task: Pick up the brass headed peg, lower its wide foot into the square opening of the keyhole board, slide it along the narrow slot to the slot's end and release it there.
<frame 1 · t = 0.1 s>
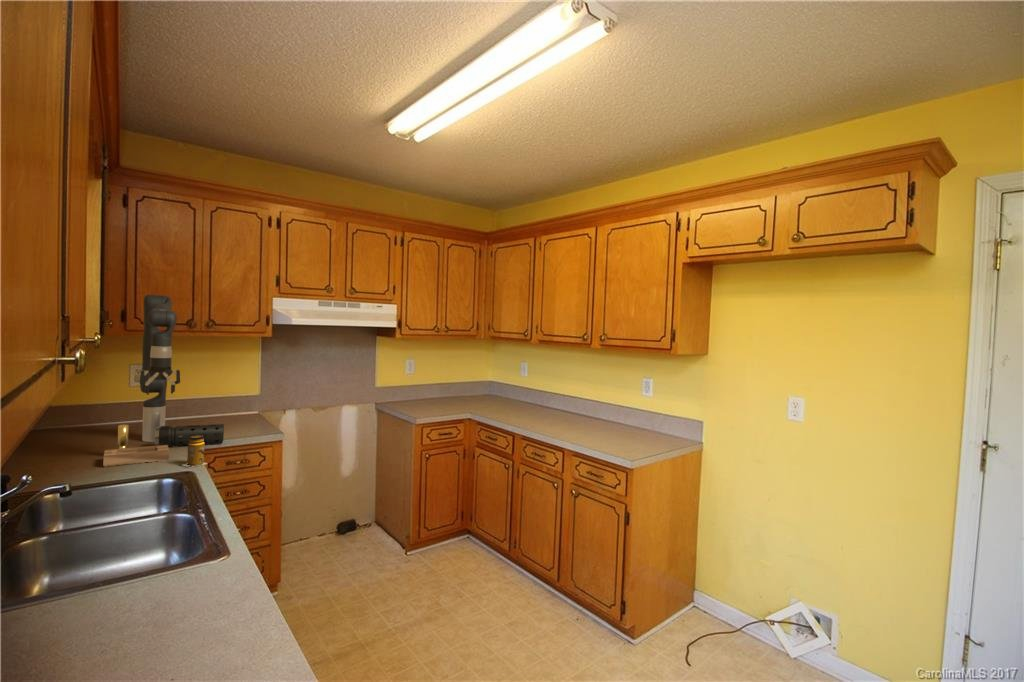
hand: (159, 393, 212), 29 cm above the worktop, tool pointing down, fingers open, 8 cm apart
keyhole board: (136, 460, 212), on the worktop
brass peg: (122, 456, 216), on the worktop
muzzle brake: (190, 446, 241), on the worktop
condiment: (193, 465, 210), on the worktop
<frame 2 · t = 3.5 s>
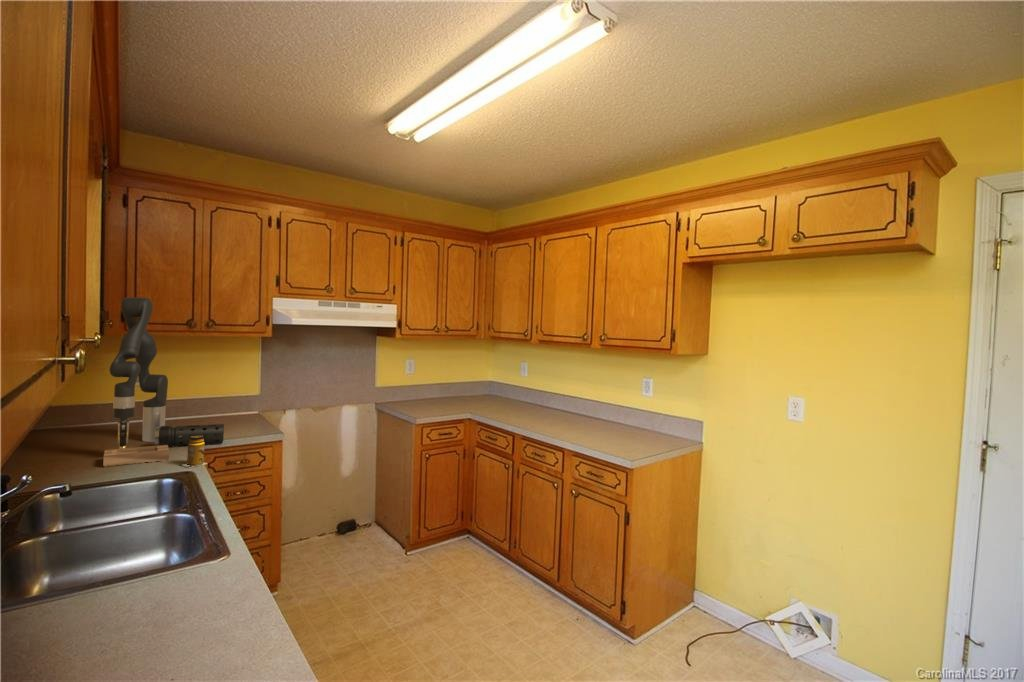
hand: (122, 445, 216), 5 cm above the worktop, tool pointing down, fingers closed on brass peg, 3 cm apart
brass peg: (122, 456, 216), on the worktop, touching gripper
everything else where it was.
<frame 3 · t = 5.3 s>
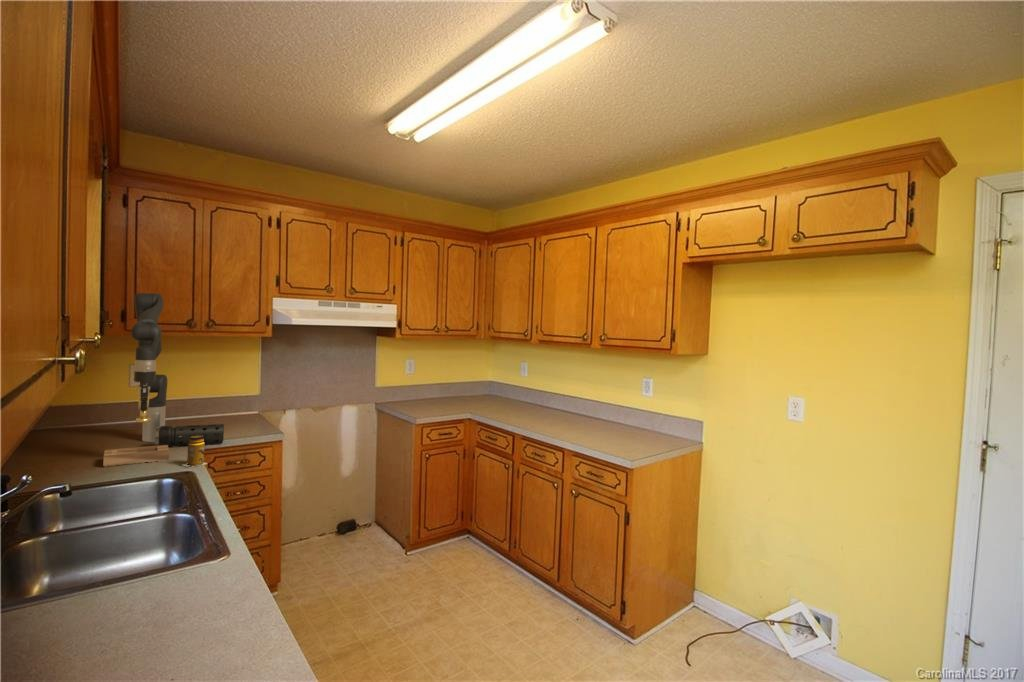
hand: (143, 409, 213), 22 cm above the worktop, tool pointing down, fingers closed on brass peg, 3 cm apart
brass peg: (143, 421, 213), point 17 cm above the worktop, touching gripper
everything else where it was.
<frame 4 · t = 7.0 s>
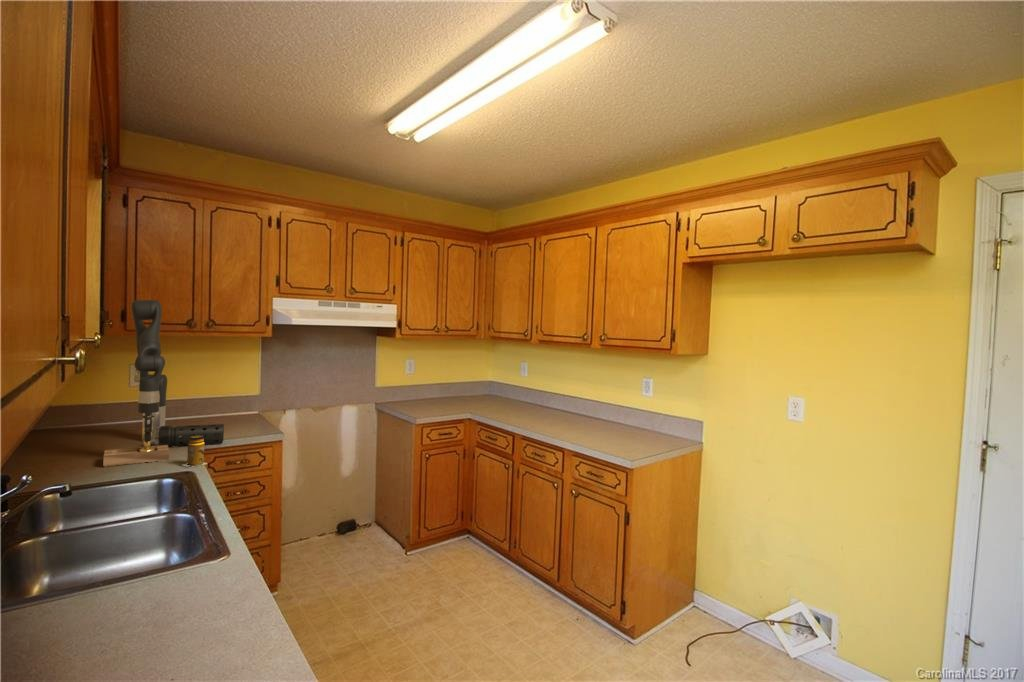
hand: (147, 440, 213), 9 cm above the worktop, tool pointing down, fingers closed on brass peg, 3 cm apart
brass peg: (146, 452, 214), point 3 cm above the worktop, touching gripper
everything else where it was.
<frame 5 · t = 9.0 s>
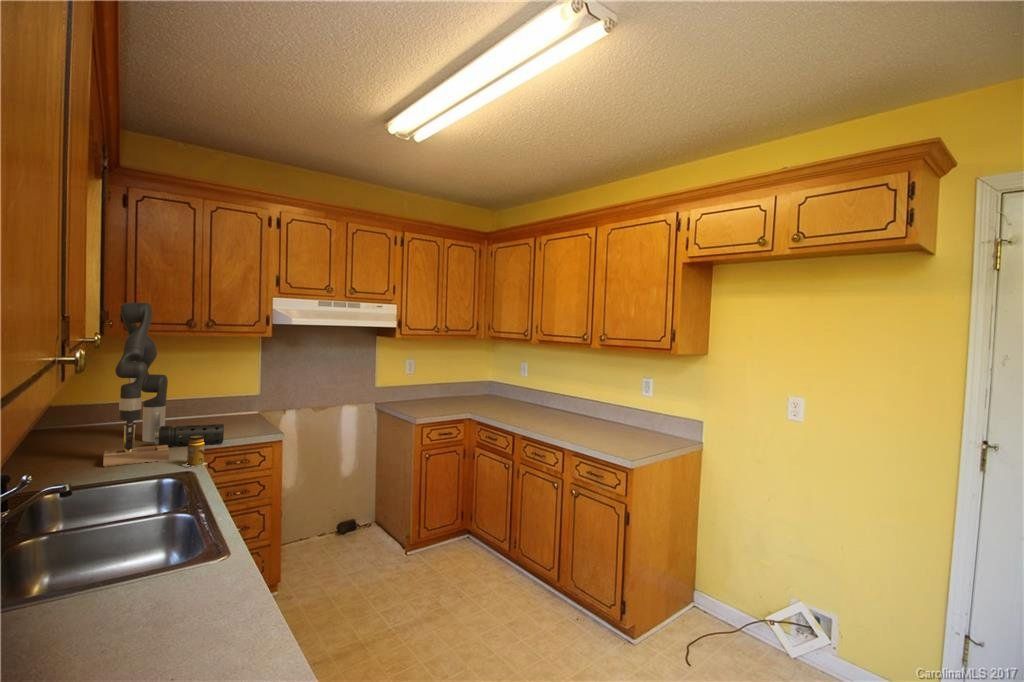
hand: (129, 448, 210), 6 cm above the worktop, tool pointing down, fingers closed on brass peg, 3 cm apart
brass peg: (128, 460, 210), point 1 cm above the worktop, touching gripper
everything else where it was.
when the fingers open (6 cm above the worktop, at t = 10.7 s): brass peg stays where it is, resting in keyhole board.
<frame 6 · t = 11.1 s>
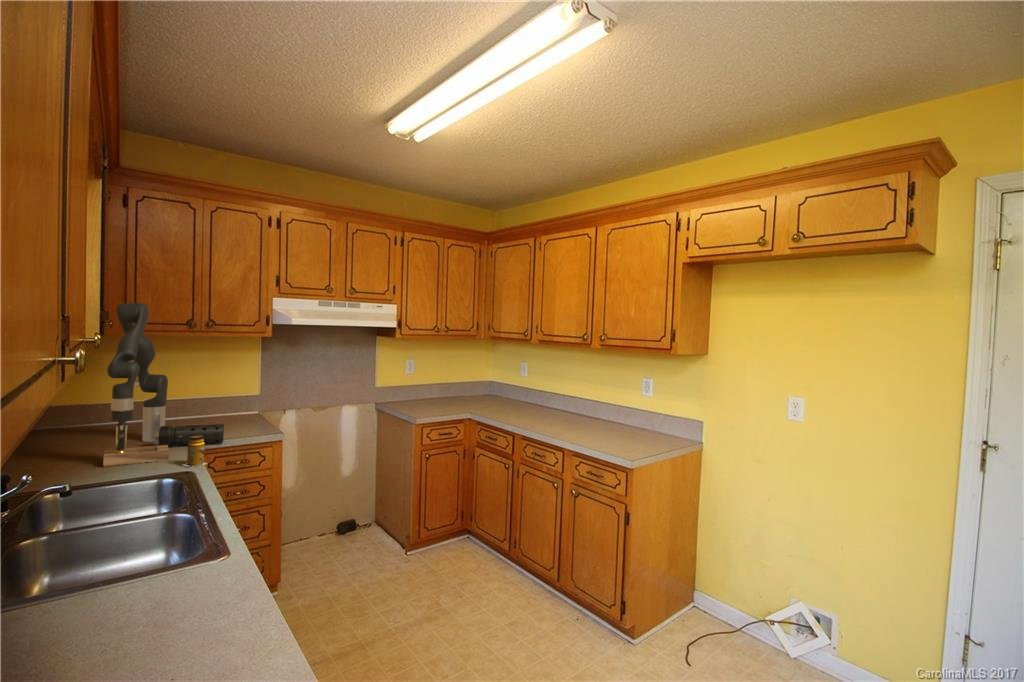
hand: (121, 446, 208), 7 cm above the worktop, tool pointing down, fingers open, 7 cm apart
brass peg: (120, 462, 208), resting in keyhole board
everything else where it was.
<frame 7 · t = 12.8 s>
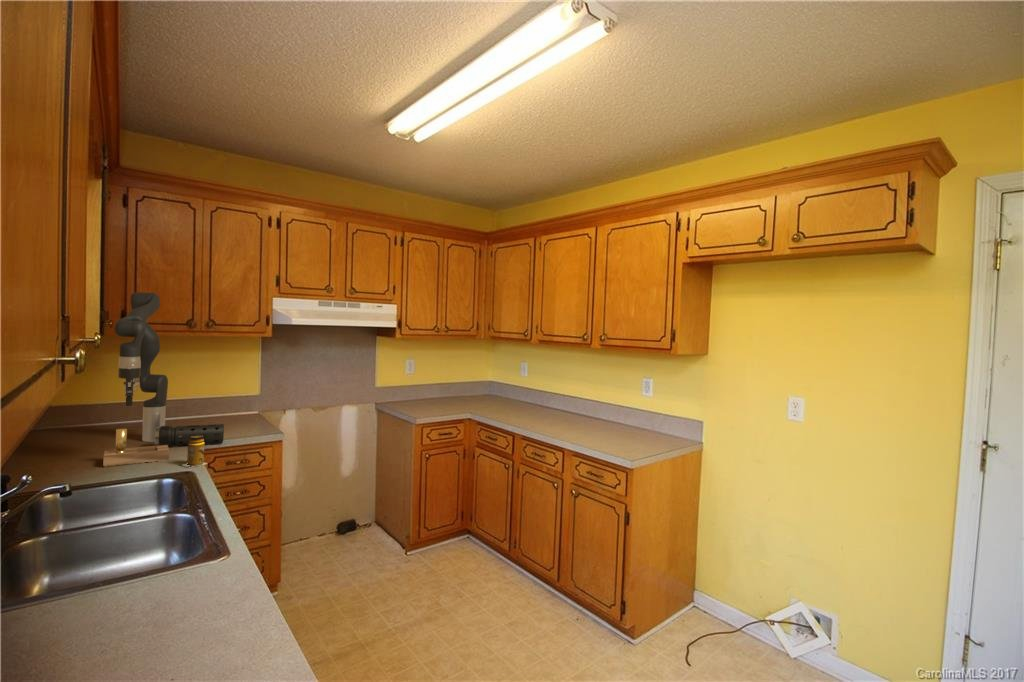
hand: (129, 404, 212), 24 cm above the worktop, tool pointing down, fingers open, 8 cm apart
nothing on the worktop moved.
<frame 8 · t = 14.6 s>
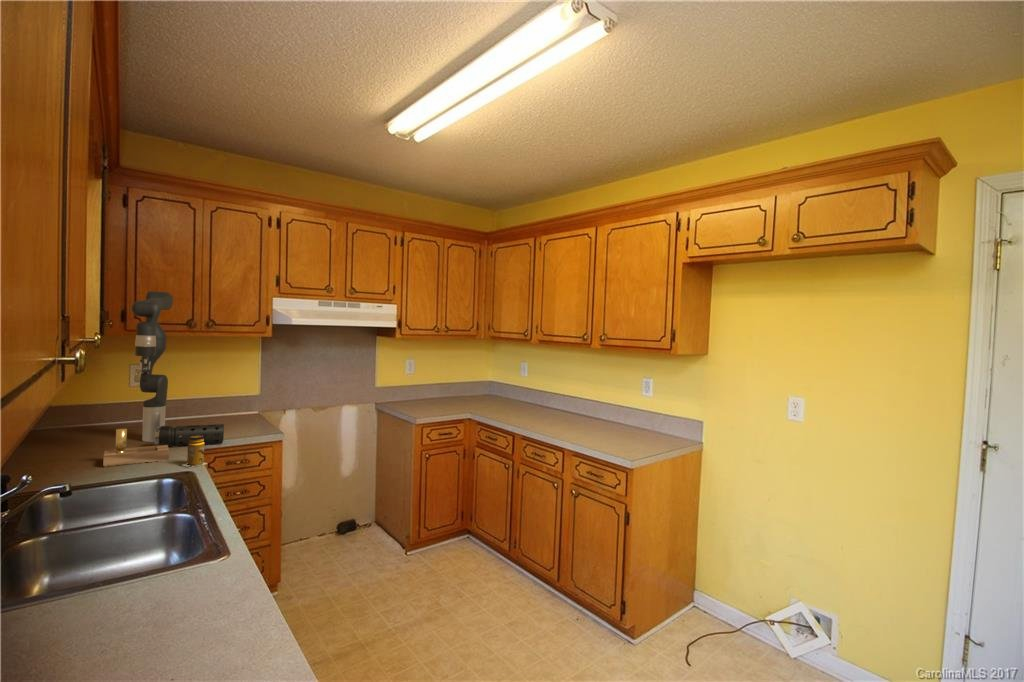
hand: (144, 380, 222), 33 cm above the worktop, tool pointing down, fingers open, 8 cm apart
nothing on the worktop moved.
at the end: brass peg 0.2 cm from the target spot on the keyhole board, point 0.0 cm above the keyhole board's base; brass peg tilted 0°; the gripper is holding nothing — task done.
